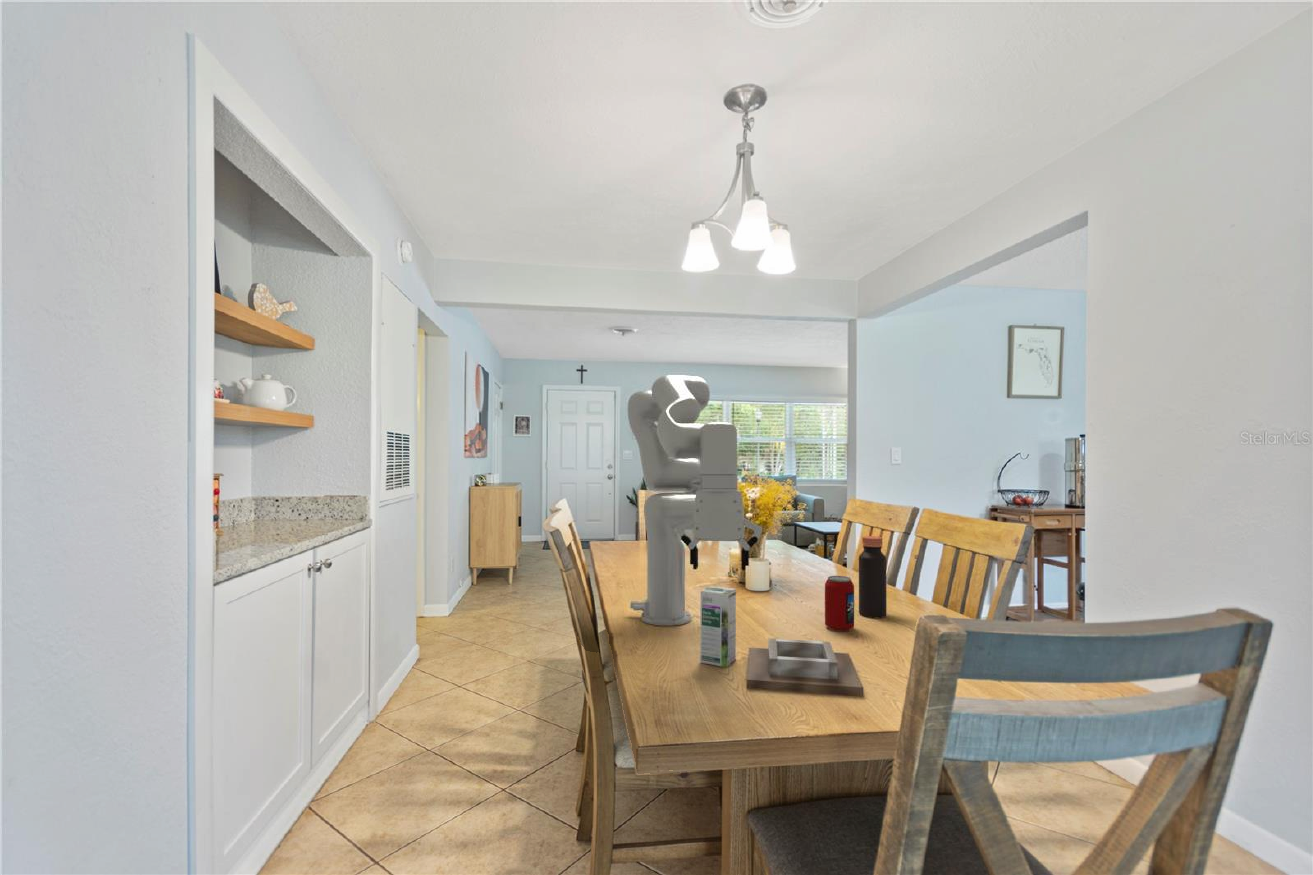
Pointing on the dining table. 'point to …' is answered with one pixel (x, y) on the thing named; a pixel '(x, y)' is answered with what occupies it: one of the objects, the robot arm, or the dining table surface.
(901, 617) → the dining table surface
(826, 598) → the beverage can
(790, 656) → the collar board
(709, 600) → the syrup box
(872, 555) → the bottle
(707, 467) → the robot arm
